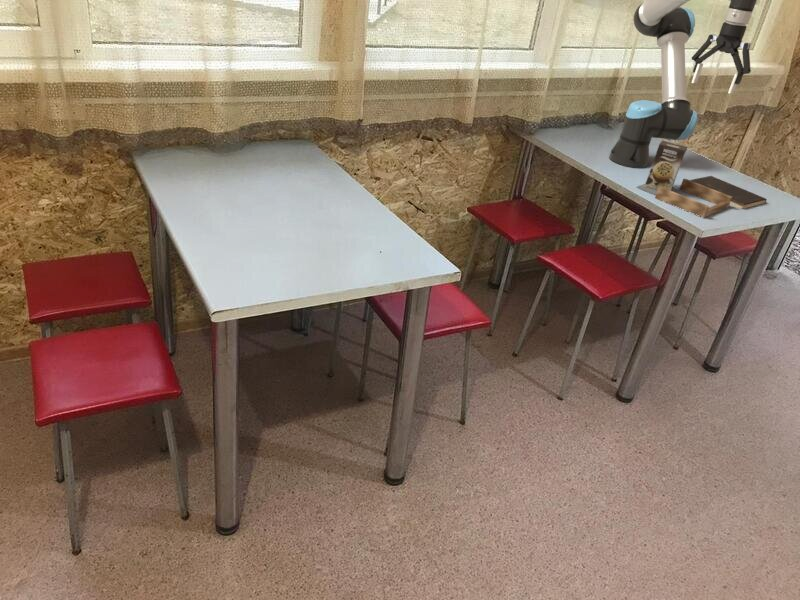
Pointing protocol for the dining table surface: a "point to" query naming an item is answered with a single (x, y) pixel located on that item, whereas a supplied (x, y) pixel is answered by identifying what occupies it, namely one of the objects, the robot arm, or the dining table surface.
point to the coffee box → (665, 165)
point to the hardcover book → (731, 192)
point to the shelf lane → (692, 205)
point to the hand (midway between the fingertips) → (711, 87)
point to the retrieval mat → (652, 189)
